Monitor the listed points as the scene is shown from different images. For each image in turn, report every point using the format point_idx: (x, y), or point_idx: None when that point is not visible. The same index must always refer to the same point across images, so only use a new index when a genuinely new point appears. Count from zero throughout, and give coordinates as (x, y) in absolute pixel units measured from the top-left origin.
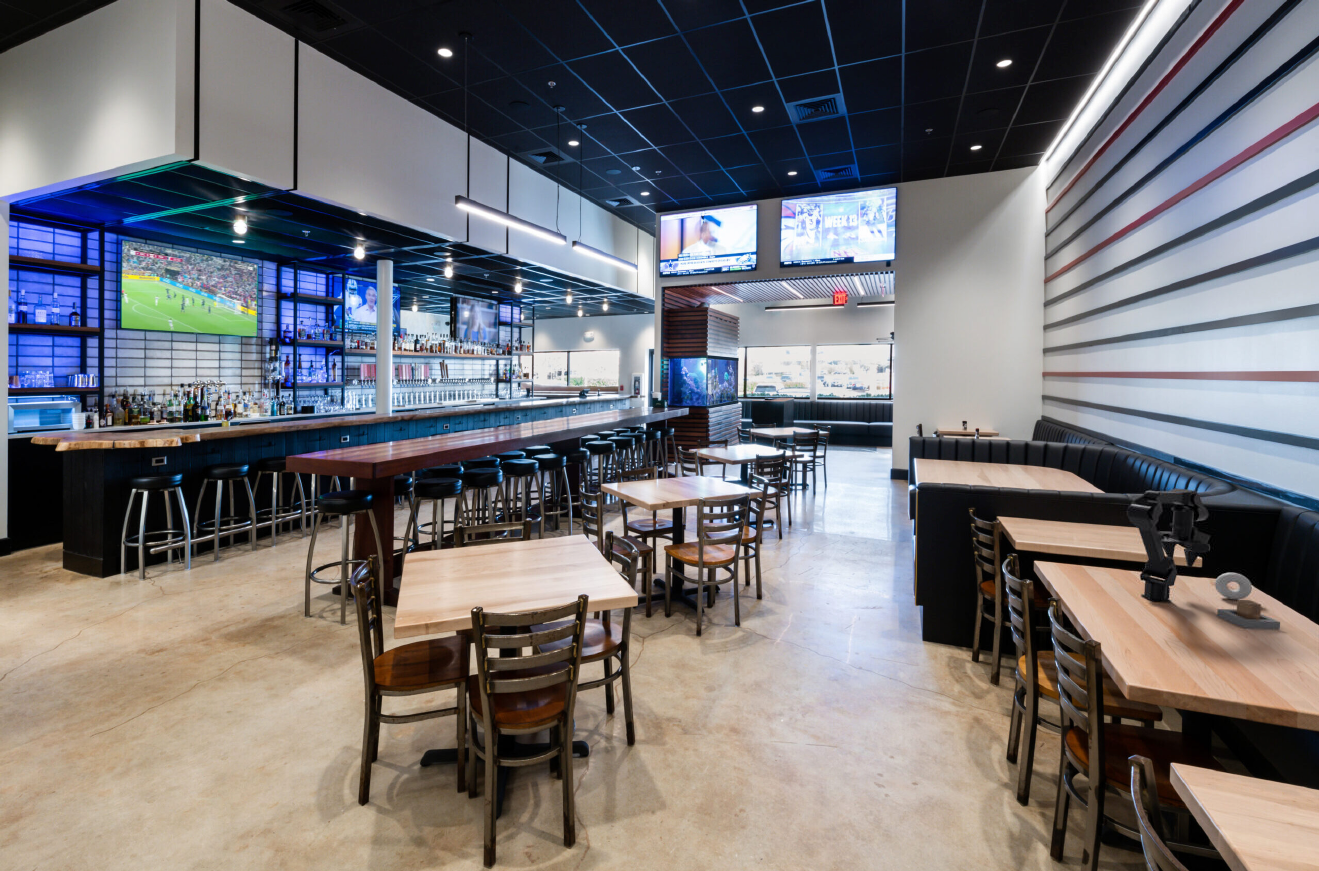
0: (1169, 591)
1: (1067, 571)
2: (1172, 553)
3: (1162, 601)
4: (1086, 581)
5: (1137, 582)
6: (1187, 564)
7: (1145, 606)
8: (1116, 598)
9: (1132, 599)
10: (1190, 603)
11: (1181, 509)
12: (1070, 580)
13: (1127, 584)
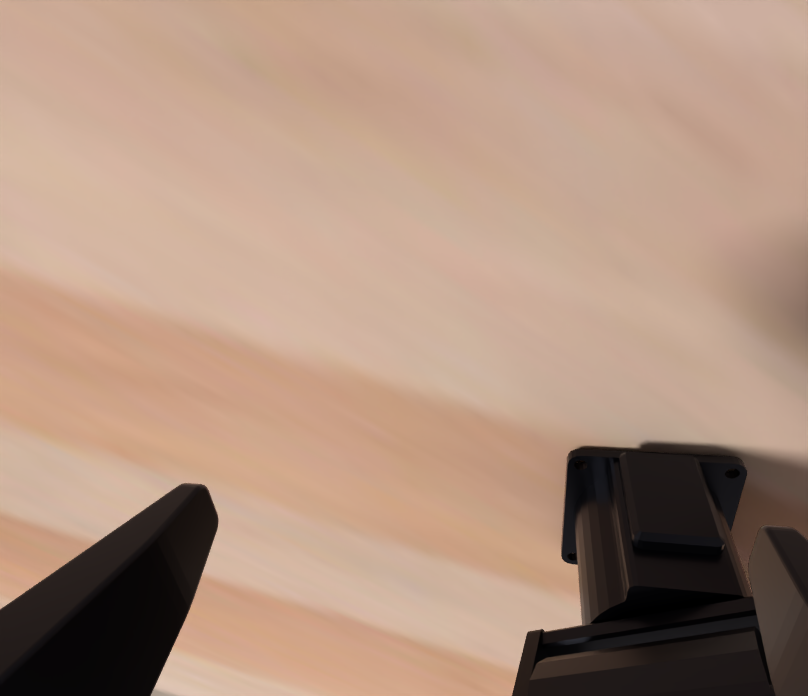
0: (715, 515)
1: None
2: (112, 608)
3: (729, 519)
4: (276, 632)
5: (177, 361)
6: (777, 640)
7: None
8: None
9: None
10: (794, 312)
11: None
12: (282, 682)
13: (267, 463)
